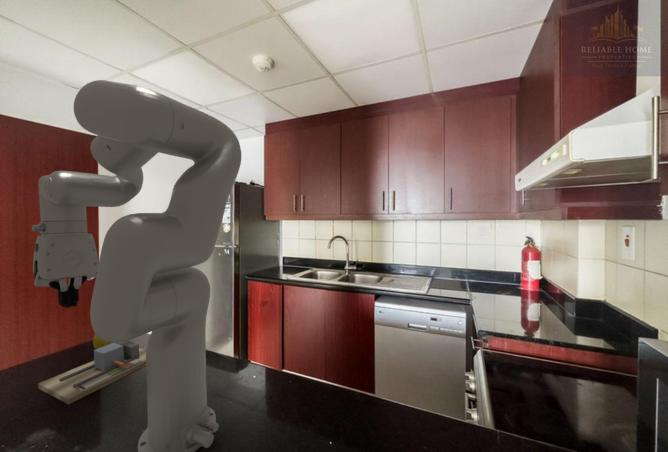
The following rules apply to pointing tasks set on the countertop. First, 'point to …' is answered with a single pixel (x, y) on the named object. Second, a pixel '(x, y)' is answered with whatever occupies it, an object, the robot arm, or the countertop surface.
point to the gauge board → (93, 376)
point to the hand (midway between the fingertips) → (69, 306)
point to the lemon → (99, 342)
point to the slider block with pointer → (109, 356)
